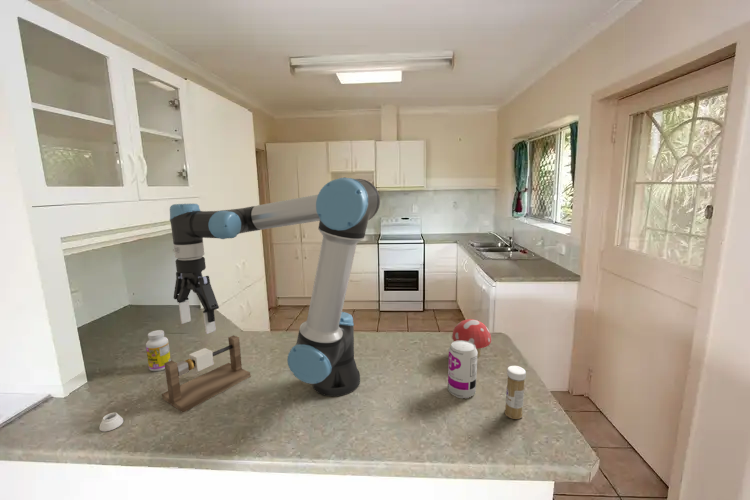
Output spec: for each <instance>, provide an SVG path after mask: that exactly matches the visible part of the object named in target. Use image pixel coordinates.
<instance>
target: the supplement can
mask: <svg viewBox="0 0 750 500" xmlns="http://www.w3.org/2000/svg"><path fill="white" fill-rule="evenodd" d="M477 354H478V352H477V349H476V347H475V345H474V344H473V343H471V342H468V341H462V340H459V341H454V340H453V341H452V342H451V344H450V346H449V348H448V367H447V369H448V371H447V390H448V392H449V393H450V394H451V395H452V396H453V395H454V396H453V397H455V396H456V398H459V399H463V398H465V399H469V397H470V398H472V397H474V395H476V392H477V391H476V390H477V374H478V373H477V372H478V359H477ZM471 396H472V397H471Z"/></svg>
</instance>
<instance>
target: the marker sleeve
mask: <svg viewBox="0 0 750 500" xmlns="http://www.w3.org/2000/svg"><path fill="white" fill-rule="evenodd" d="M188 356H189V357H188V358H189V359H191V360H192V361H194V360H195V365H194V368H193V369H192V370H194V371H196V372H200V371H202V370H205V369H206V368H209V367H211V366H213V365H215V364H214V356H213V350H210V349H208V348H206V347H204V348H200V349H199V350H196V351H194V352H191V353H189V354H188Z"/></svg>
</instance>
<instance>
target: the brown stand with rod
mask: <svg viewBox="0 0 750 500" xmlns="http://www.w3.org/2000/svg"><path fill="white" fill-rule="evenodd" d="M226 351H229V358H230V362H227V363H225V364H223V365H221V366H219V367H217V368H214V369H212V370H210V371H208V372H206V373H204V374H203V373H202V375H199V376H197V377H195V378H193V379H190V380H189V381H186V382H185V383H182V384H180V377H181V376H183V375H185V374H187V373H189V372H190V371H191V370H194V369H193V368H194V365H195V360H194V361H192V360H191V359H190V358H188V359H185V360H181V361H178V362H176V361H174V360H172V359H171V361H169V362H166V363H164V364H165V369H164V371H165V378H166V384H167V385H166V387H167V391H165V392H163V393H161V399H162V400H164V401H165V402H167V403H168V404H170V405H171V406H172V407H174V408H175V409H177V410H178V411H180V412H181V413H183V414H184V413H186V412H188V411H190V410H191V409H193V408H195V407H197V406H199V405H200V404H203V403H205V402H206V401H208V400H210V399H212V398H214V397H215V395H216V396H217V395H219V394H221V393H223V392H225V391H227V390H228V389H231V388H232V387H234V386H236V385H238V384H241V383H242V382H243V381H245V380H248V379H250V378H251V376H252V375H251V372H250V371H247V370H245V369H243V366H242V354H241V344H240V337H239V336H237V335H231V336H228V345H227V346H225V347H222V348H221V349H218V350H216V351H212V353H213V357H215V356H218V355H219V354H220V355H221V354H222V353H225V352H226Z"/></svg>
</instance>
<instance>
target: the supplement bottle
mask: <svg viewBox="0 0 750 500" xmlns="http://www.w3.org/2000/svg"><path fill="white" fill-rule="evenodd" d="M147 338H148V340H147V341H146V343H145V348H146V355H147V363H148V364H147V365H148V369H149V371H151V372H160V371H165V364H164V363H166V362H169V361H171V360H172V359H171V352H170V344H169V343H170V342H169V339H168V338H167V336H165V331H164V329H163V330H162V329H158V330H157V329H156V330H152V331H150V332H148V334H147Z"/></svg>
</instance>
